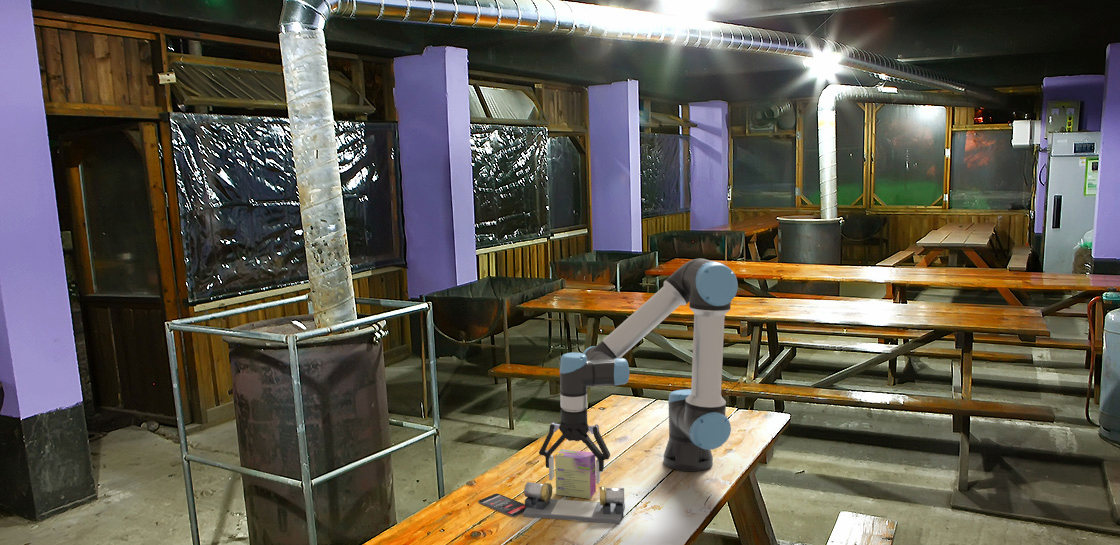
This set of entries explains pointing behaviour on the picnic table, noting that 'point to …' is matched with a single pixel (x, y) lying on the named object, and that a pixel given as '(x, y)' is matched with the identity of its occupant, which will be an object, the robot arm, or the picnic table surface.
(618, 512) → the shaft
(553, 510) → the bed
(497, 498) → the smartphone
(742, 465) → the picnic table surface
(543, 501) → the shaft
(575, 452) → the box
